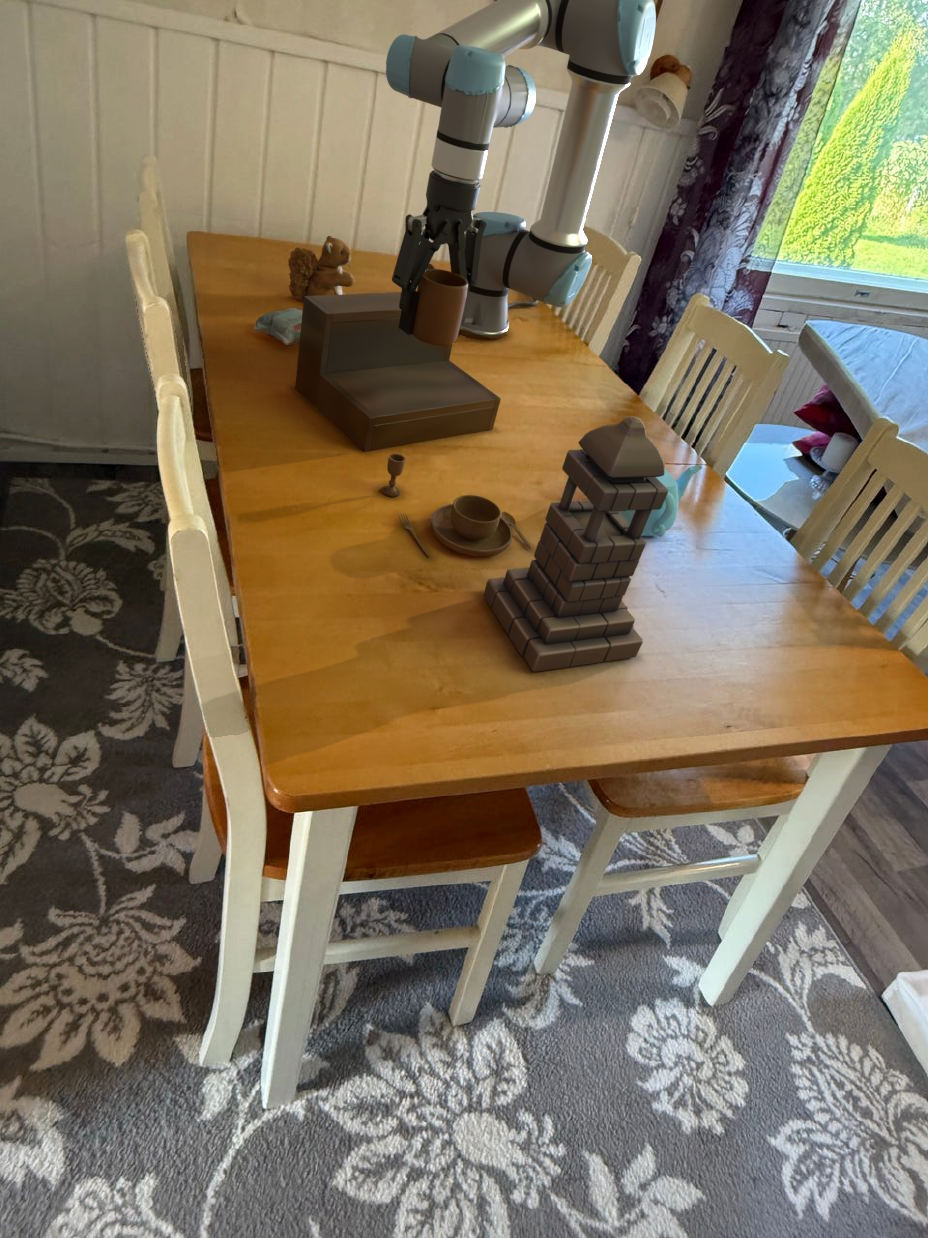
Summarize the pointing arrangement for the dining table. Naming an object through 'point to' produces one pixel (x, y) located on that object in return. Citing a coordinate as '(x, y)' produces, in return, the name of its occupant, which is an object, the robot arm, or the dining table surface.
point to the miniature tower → (585, 555)
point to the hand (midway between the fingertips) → (426, 329)
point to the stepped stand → (384, 375)
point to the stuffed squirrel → (320, 270)
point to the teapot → (665, 504)
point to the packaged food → (282, 325)
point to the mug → (439, 306)
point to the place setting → (462, 520)
